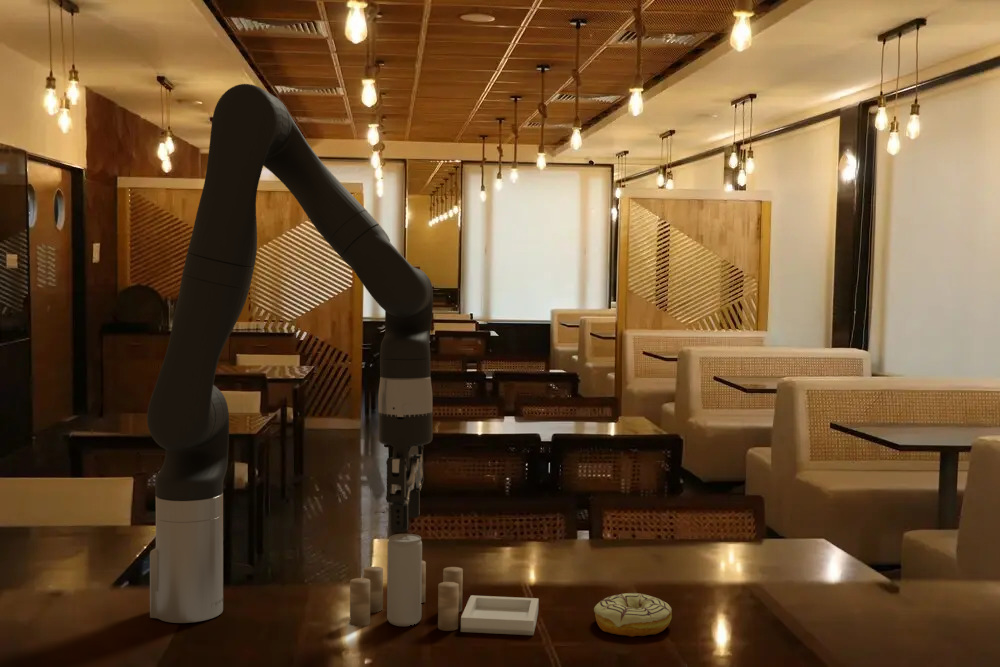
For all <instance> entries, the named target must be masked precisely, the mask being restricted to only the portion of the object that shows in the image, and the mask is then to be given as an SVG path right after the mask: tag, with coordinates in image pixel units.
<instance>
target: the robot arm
mask: <svg viewBox="0 0 1000 667" xmlns="http://www.w3.org/2000/svg"><path fill="white" fill-rule="evenodd" d="M289 112H290V111H289V110H288V108H287V107H286V105H285V104H284V103H283V102H282V100H280V99H279V98H278V97H276V96H275V95H273V94H272V93H271V92H268V91H267V90H265V89H263V88H261V87H260V86H257V85H254V84H249V83H240V84H237V85H234V86H232V87H230V88H228V89H227V90H226V91H225V92H224V93H223V94H222V95H221V96H220V98H219V99H218V101H217V102H216V105H215V107H214V110H213V114H212V119H211V128H210V137H209V138H210V139H209V147H208V154H207V156H208V157H207V164H206V172H205V178H204V182H203V187H202V191H201V196H200V199H199V203H198V206H197V211H196V215H195V220H194V224H193V227H192V228H193V229H192V232H191V237H190V241H189V245H188V247H187V248H188V249H187V253H186V256H185V261H184V265H183V269H182V275H181V281H180V286H179V291H178V297H177V301H176V306H175V309H174V314H173V319H172V323H171V324H172V325H171V330H170V335H169V341H168V345H167V349H166V351H165V355H164V358H163V362H162V365H161V367H160V370H159V373H158V376H157V379H156V382H155V386H154V389H153V391H152V394H151V397H150V400H149V402H148V406H147V411H146V413H147V415H146V423H147V428H148V431H149V434H150V435H151V437H152V440H153V441H154V442H155V443H156V444H157V445H158V446H159V447H160V448H163V449H165V455H164V456H165V457H164V461H163V464H162V466H161V468H160V470H159V472H158V473H157V476H156V478H155V483H154V484H155V487H154V488H155V490H154V491H155V548H153V549H152V550H150V552H149V618H151V619H158V620H160V621H162V622H166V623H174V624H187V623H188V624H189V623H199V622H203V621H208V620H211V619H214V618H216V617H218V616H219V615H221V614H222V613H223V611H224V481H225V476H226V474H227V471H228V464H229V446H230V445H229V441H230V440H229V438H230V416H229V415H230V414H229V413H230V412H229V406H228V403H227V400H226V397H225V395H224V394H223V392H222V391H221V389H219V388H218V387H217V386H216V385H215V384H214V383H215V378H216V371H217V368H218V365H219V364H218V363H219V360H220V357H221V354H222V351H223V350H224V347H225V345H226V344H227V341H228V340H229V337H230V335H231V334H232V332H233V330H234V328H235V326H236V324H237V322H238V319H239V318H240V316H241V314H242V311H243V309H244V307H245V304H246V301H247V298H248V294H249V292H250V288H251V283H252V279H253V275H254V274H253V273H254V270H255V265H256V259H257V252H258V226H257V225H258V224H257V223H258V222H257V221H258V220H257V194H258V189H259V188H258V187H259V183H260V179H261V176H262V172H263V167H265V168H266V169H267V170H268V171H269V172H270V173H271V174H273V175H274V176H275V177H276V178H277V179H278V180H279V181H280V182H281V183H282V184H283V185H284V186H285V187H286V188H287V190H288V191H289V192H290V193H291V194H292V196H293V197H294V198H295V199H296V201H297V202H298V204H299V206H300V207H301V208H302V210H303V211H304V213H305V214H306V216H307V218H308V219H309V221H310V222H311V224H312V225H313V227H315V229H316V230H317V232H318V233H319V234H320V235H321V237H322V238H323V239H324V240H325V242H327V244H328V245H329V246H330V247H331V248H332V249H333V250H334V252H335V253H337V255H338V256H339V257H340V258H341V259H342V261H343V262H345V263H346V264H347V265H348V266H349V267H350V269H351V270H353V271H354V273H355V274H356V277H357V278H358V279H359V281H360V283H361V284H362V286H364V288H365V289H366V291H367V292H368V293H369V294H370V296H371V297H372V299H373V300H374V301H375V303H377V304H378V305H379V306H380V308H382V309H383V310H384V312H385V313H384V314H385V315H384V331H385V332H384V336H383V339H382V340H381V343H380V350H379V352H380V353H379V377H380V378H379V385H378V386H379V387H378V441H379V443H380V444H381V445H384V446H390V447H391V446H392V448H393V450H392V457H387V459H386V464H385V465H386V496H385V501H386V503H388V504H389V505H391V511H390V512H391V515H390V516H391V523H390V524H391V527H390V528H391V531H392V532H394V533H406V532H407V531H408V529H409V518H412V519H413V518H414V519H415V518H418V517H419V516H420V514H421V512H420V509H421V506H420V505H421V504H420V503H421V502H420V499H421V498H420V497H421V495H420V494H421V492H420V491H422V490H421V489H422V487H423V484H424V481H425V477H424V448H425V447H424V445H428V444H430V443H431V442H432V441H433V388H432V378H431V347H430V344H431V343H430V337H431V330H432V322H433V321H432V319H433V307H434V303H433V302H434V293H433V292H434V291H433V289H434V288H433V285H432V282H431V280H430V278H429V276H428V275H427V274H426V272H424V271H423V270H422V269H419V268H418V267H415V266H413V265H412V264H411V263H410V262H409V261H408V260H407V259H406V258H405V257H404V256H403V255H402V254H401V252H399V250H398V249H397V248H396V247H395V246H394V245H393V244H392V243H391V239H390V238H389V236H388V233H386V231H385V230H384V228H383V227H382V226H381V225H380V224H379V223H378V222H377V220H376V219H375V218H374V216H372V215H371V214H370V213H369V212H368V210H367V209H366V208H365V207H364V205H362V204H361V203H360V202H359V200H358V199H356V197H355V196H354V195H353V194H352V193H351V192H350V191H349V190H348V189H347V188H346V187H345V186H344V185H343V184H342V182H340V180H339V179H338V178H337V177H336V176H335V175H334V174H333V173H332V172H331V171H330V170H329V168H328V167H327V166H326V165H325V164H324V162H323V161H322V160H321V159H320V158H319V156H318V155H317V154H316V152H315V151H314V150H313V148H312V147H311V145H310V144H309V142H308V141H307V140H306V138H305V135H303V134H302V132H301V130H300V128H299V127H298V126H297V123H295V120H294V119H293V117H292V116H291V114H290V113H289ZM397 491H400V493H397Z"/></svg>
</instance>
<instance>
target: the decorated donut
mask: <svg viewBox="0 0 1000 667" xmlns="http://www.w3.org/2000/svg"><path fill="white" fill-rule="evenodd" d="M593 611H594V616H595V620H596V624H597V626H598V627H599V629H600V630H601V631H603V632H605V633H608V634H613V635H618V636H627V637H631V638H632V637H637V636H639V637H645V636H649V635H658V634H660V633H661V632H663V631H665V630H666V629H667V627H668V626H670V623H671V620H672V618H673V615H672V613H673V612H672V607H671V606H670V605H669V604H668V603H667V602H665V601H664V600H662V599H660V598H658V597H655V596H653V595H648V594H645V593H637V592H631V593H630V592H627V593H626V592H625V593H620V594H614V595H610V596H607V597H605V598H603V599H602V600H600V601H599V602H598V603H597V604H595V606H594V608H593Z"/></svg>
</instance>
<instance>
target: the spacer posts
mask: <svg viewBox="0 0 1000 667" xmlns="http://www.w3.org/2000/svg"><path fill="white" fill-rule="evenodd" d="M426 565H427V562H426V561H425V560H423V559H422V601H421V603H423V602H425V603H426V589H427V588H426V584H427V583H426V576H427V575H426V574H427V573H426V572H427V571H426V568H427V567H426ZM442 571H443V572H442V576H443V577H442V578H443V582H440V583H438V590H437V591H438V593H437V594H438V595H437V596H438V597H437V599H438V600H437V601H438V602H437V613H438V614H437V629H438V630H440V631H445V632H449V631H450V632H452V631H455V630H458V629H459V613H460V612H463V586H464V585H463V580H464V579H463V578H464V577H463V573H464V572H463V571H464V569H463V568H462V567H458V566H449V567H448V566H447V567H445V568H443V570H442ZM383 606H384V568H383V567H381V566H367V567H364V568H363V577H356V578H352V579H350V581H349V625H350V626H353V627H366V626H369V625H370V624H371V614H373V613H374V614H376V612H377V613H380V612H379V611H381V610H382V611H383V610H384V609H383V608H384V607H383ZM382 611H381V612H382Z"/></svg>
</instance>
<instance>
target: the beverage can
mask: <svg viewBox="0 0 1000 667" xmlns="http://www.w3.org/2000/svg"><path fill="white" fill-rule="evenodd" d="M422 560H423V542H422V537H421V536H420V535H418V534H415V533H414V534H413V533H398V534H392V535H390V536H388V541H387V568H386V569H387V576H386V577H387V579H386V581H387V588H386V593H387V594H386V597H387V598H386V619H387V621H388V622H389V624H391V625H393V626H396V627H411V626H410V625H412V626H414V624H415V625H417V624H419V622H420V621H421V620H422V604H421V601H422Z"/></svg>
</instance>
